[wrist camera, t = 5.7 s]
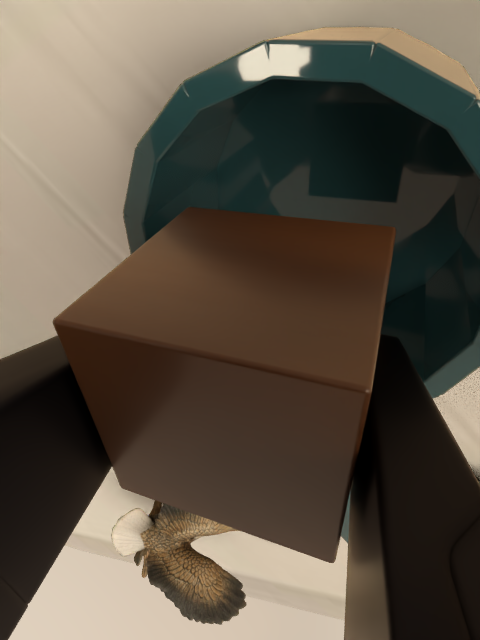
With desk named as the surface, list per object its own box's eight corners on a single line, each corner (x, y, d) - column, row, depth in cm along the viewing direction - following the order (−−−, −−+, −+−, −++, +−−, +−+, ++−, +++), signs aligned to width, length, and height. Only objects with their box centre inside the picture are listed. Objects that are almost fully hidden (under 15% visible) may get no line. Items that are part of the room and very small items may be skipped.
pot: (181, 238, 17) (103, 311, 13) (271, -43, 10) (174, -71, 6) (376, 349, 16) (359, 458, 12) (589, 132, 10) (689, 212, 6)
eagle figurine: (181, 550, 34) (266, 593, 29) (106, 600, 29) (194, 666, 23) (175, 462, 34) (261, 488, 28) (100, 495, 29) (187, 536, 23)
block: (207, 353, 11) (120, 489, 8) (187, 205, 8) (49, 320, 5) (364, 387, 9) (334, 565, 6) (397, 225, 7) (372, 391, 4)
